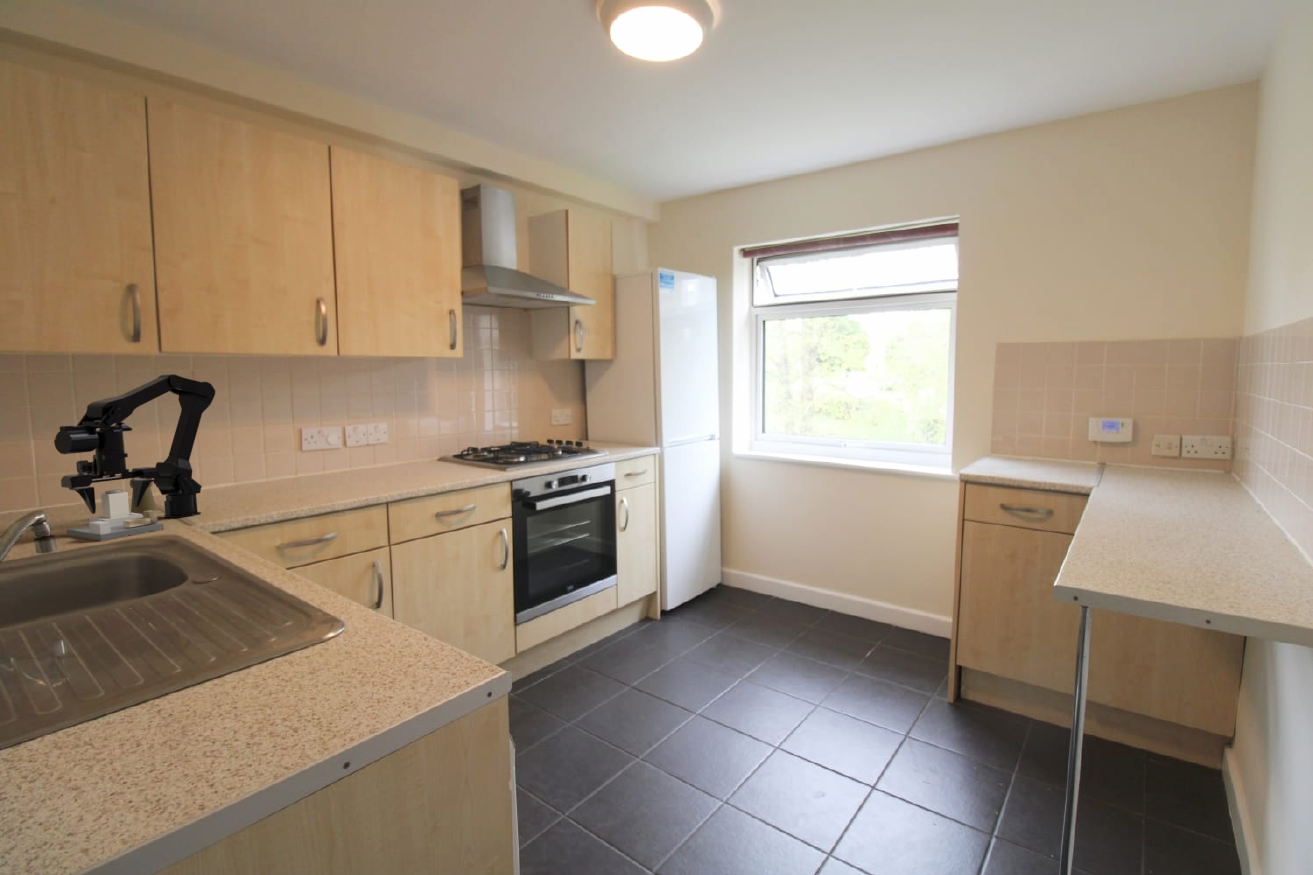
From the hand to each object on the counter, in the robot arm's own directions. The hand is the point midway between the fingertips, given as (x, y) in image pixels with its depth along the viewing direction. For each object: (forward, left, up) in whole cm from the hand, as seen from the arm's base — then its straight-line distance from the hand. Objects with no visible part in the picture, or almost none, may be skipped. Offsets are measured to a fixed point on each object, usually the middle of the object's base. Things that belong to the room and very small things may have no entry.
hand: (115, 510), depth 162 cm
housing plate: (+2, +4, -5) cm, 7 cm away
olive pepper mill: (-14, -17, -5) cm, 23 cm away
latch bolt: (-1, +10, -3) cm, 10 cm away
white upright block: (0, 0, -4) cm, 4 cm away
